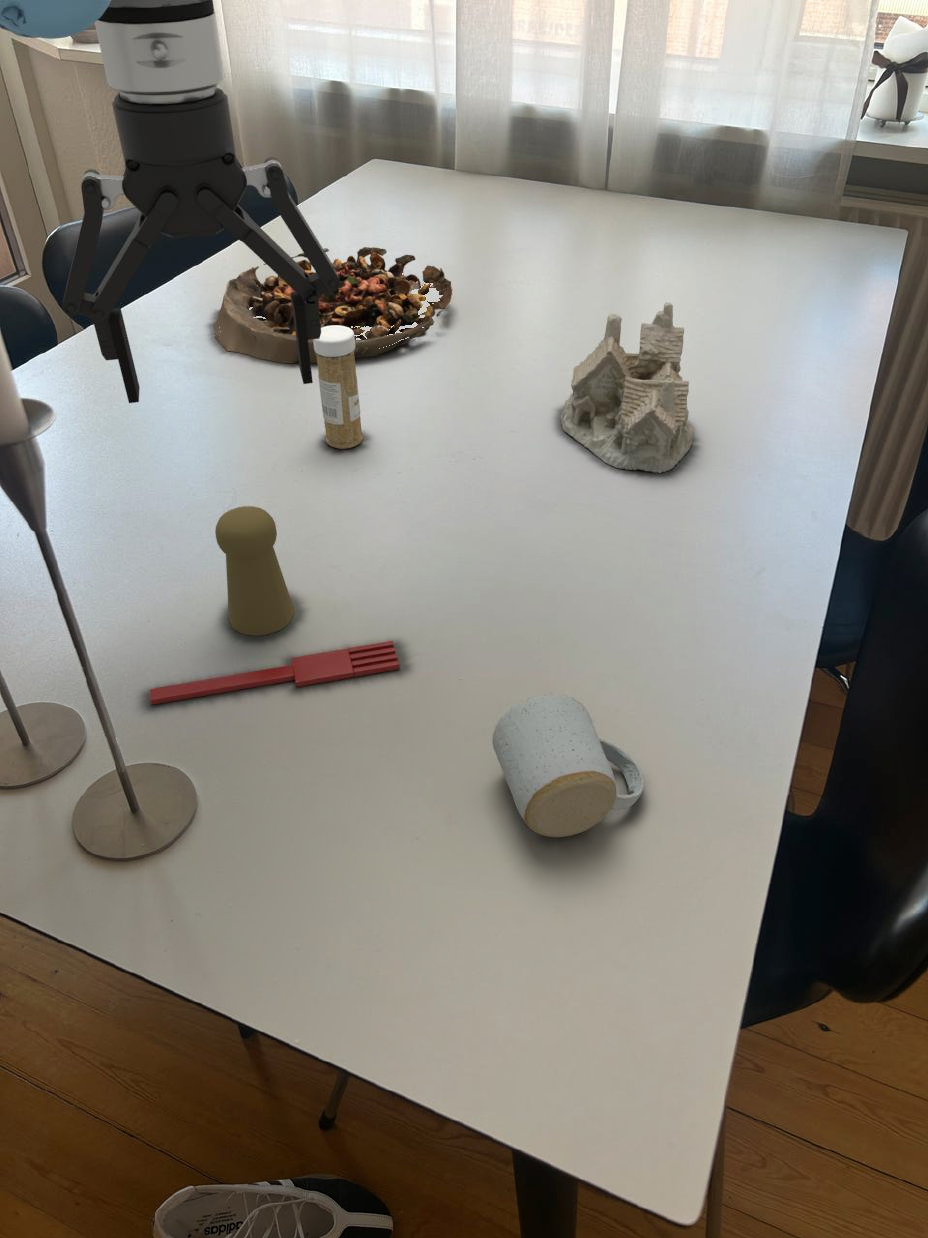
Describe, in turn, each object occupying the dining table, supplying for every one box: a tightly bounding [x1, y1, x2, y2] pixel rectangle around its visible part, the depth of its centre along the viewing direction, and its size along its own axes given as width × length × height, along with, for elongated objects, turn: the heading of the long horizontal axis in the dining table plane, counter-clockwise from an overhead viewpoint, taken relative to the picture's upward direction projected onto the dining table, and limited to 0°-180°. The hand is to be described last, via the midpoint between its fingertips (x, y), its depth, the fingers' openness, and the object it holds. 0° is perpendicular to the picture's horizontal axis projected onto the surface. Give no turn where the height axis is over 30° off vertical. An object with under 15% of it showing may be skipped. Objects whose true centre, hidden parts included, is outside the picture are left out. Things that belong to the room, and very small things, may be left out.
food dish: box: [212, 246, 453, 364], centre depth 140 cm, size 35×33×8 cm
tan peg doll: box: [214, 505, 295, 637], centre depth 86 cm, size 6×6×11 cm
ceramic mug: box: [492, 693, 645, 838], centre depth 70 cm, size 11×8×8 cm
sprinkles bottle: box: [313, 325, 364, 450], centre depth 110 cm, size 5×5×14 cm
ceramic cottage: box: [559, 301, 694, 474], centre depth 110 cm, size 16×16×15 cm
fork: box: [149, 640, 401, 705], centre depth 83 cm, size 21×3×1 cm, turn 104°
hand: (221, 386), depth 78 cm, fingers open, 13 cm apart
